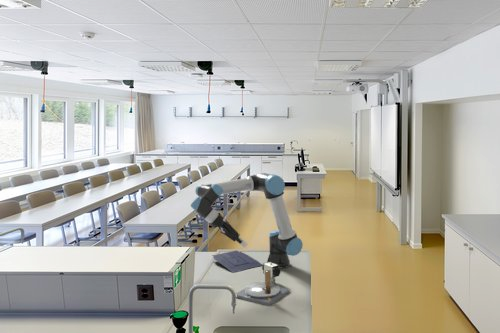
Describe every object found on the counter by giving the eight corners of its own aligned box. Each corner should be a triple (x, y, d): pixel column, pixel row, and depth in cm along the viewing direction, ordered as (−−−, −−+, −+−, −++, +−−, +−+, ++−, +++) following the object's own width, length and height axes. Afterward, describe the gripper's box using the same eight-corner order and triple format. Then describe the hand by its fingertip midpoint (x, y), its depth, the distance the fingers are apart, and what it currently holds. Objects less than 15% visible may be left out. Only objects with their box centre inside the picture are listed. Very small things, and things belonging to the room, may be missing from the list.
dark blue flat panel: (238, 253, 314) (239, 248, 313) (263, 269, 290) (263, 263, 289) (209, 259, 300) (209, 254, 299) (232, 276, 276) (232, 271, 275)
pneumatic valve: (274, 286, 251) (274, 265, 250) (262, 280, 260) (261, 261, 259) (282, 283, 255) (281, 263, 254) (269, 278, 264) (268, 259, 263)
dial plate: (256, 284, 254) (256, 281, 254) (289, 291, 242) (289, 288, 242) (234, 297, 236) (234, 293, 236) (269, 305, 224) (269, 302, 224)
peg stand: (240, 288, 244) (239, 263, 243) (271, 283, 251) (270, 259, 250) (252, 300, 227) (252, 274, 225) (285, 295, 233) (285, 269, 232)
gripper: (212, 219, 253) (243, 245, 255) (207, 227, 240) (240, 255, 242) (221, 210, 251) (251, 236, 253) (216, 218, 239) (248, 246, 240)
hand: (246, 245), depth 247 cm, fingers closed
